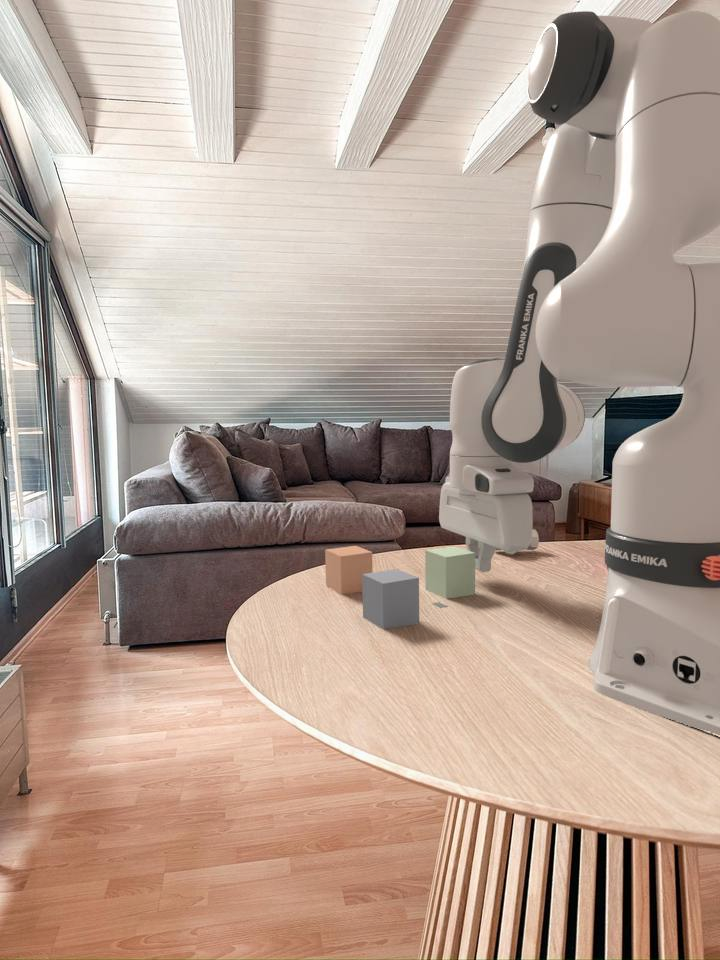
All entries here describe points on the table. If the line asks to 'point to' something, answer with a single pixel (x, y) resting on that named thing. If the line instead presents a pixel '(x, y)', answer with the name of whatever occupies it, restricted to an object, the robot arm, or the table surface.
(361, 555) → the terracotta block
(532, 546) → the pipe fitting
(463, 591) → the sage block
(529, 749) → the table surface
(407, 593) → the slate block
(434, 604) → the small gray-green block
